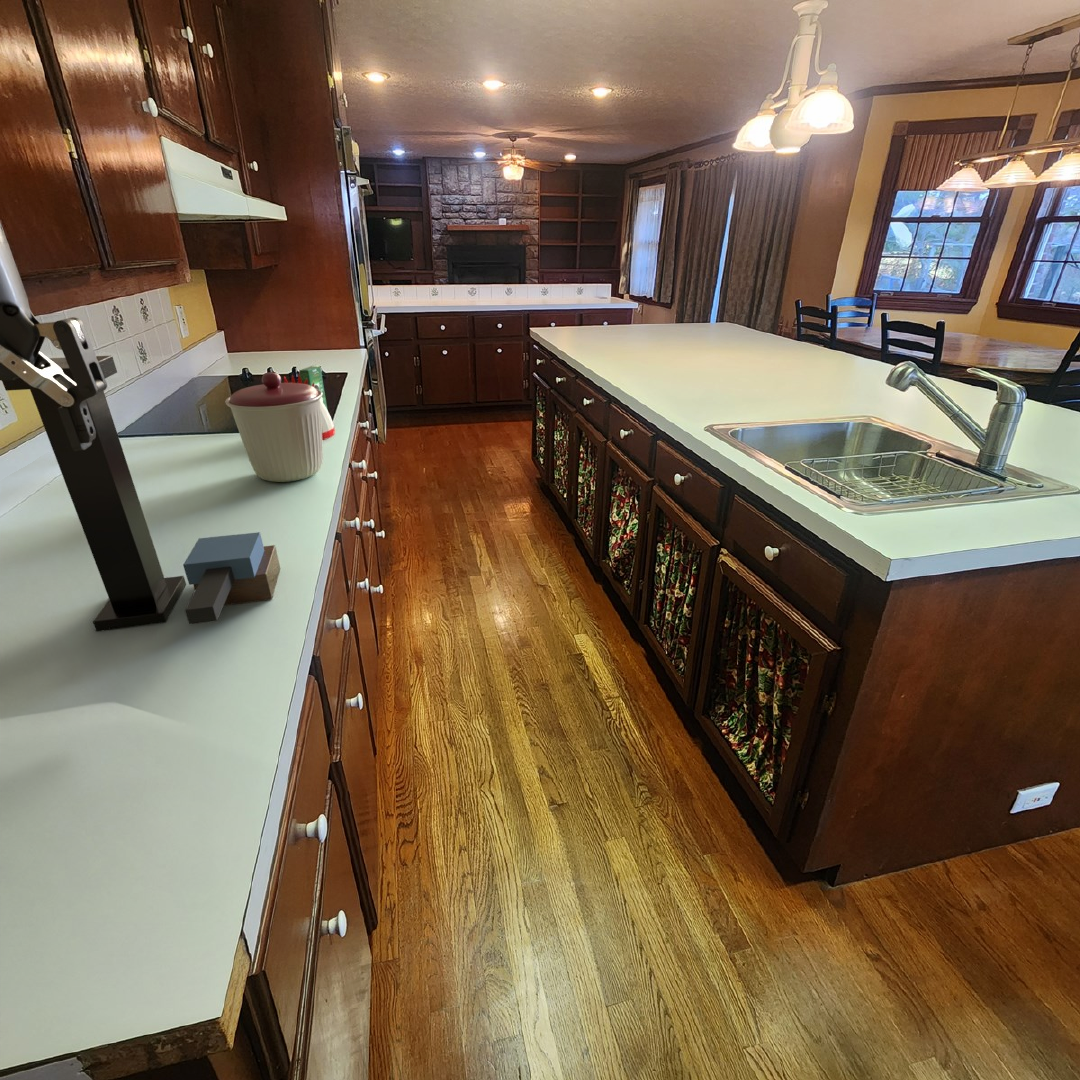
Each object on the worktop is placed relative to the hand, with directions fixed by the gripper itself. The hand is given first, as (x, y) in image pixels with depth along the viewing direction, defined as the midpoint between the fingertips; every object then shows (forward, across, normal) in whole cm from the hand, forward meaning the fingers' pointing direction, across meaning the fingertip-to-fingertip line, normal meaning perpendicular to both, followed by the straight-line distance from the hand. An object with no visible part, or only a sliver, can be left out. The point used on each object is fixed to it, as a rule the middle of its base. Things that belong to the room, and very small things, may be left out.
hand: (25, 452), depth 51 cm
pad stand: (+28, +5, -22) cm, 36 cm away
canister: (+28, -8, -72) cm, 78 cm away
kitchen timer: (+28, -9, -102) cm, 106 cm away
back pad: (+24, -6, -18) cm, 31 cm away
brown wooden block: (+28, -7, -24) cm, 38 cm away
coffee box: (+28, -10, -123) cm, 127 cm away
